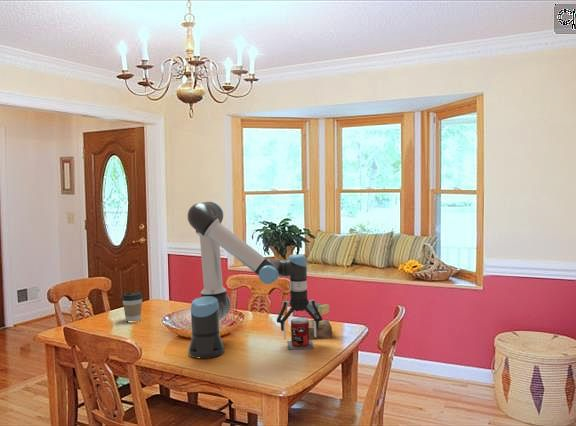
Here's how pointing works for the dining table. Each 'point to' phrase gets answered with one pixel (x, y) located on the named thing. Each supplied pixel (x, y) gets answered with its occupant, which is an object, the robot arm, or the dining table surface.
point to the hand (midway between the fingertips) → (300, 337)
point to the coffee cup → (132, 305)
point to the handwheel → (318, 308)
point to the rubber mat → (291, 347)
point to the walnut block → (320, 329)
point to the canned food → (299, 332)
